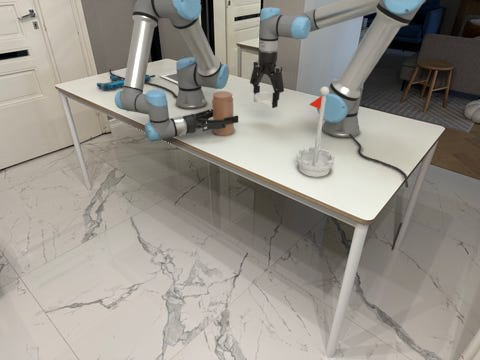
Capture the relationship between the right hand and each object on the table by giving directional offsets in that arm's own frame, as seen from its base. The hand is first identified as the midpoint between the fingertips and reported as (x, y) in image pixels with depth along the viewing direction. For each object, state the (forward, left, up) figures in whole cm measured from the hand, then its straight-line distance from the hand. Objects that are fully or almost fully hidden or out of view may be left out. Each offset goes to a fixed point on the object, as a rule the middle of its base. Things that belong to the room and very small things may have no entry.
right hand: (265, 103), depth 148 cm
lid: (0, 0, +3) cm, 3 cm away
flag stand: (-41, +2, -11) cm, 42 cm away
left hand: (+3, +14, -4) cm, 15 cm away
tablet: (+84, +10, -11) cm, 85 cm away
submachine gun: (+94, +46, -11) cm, 105 cm away
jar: (+3, +19, -11) cm, 22 cm away
